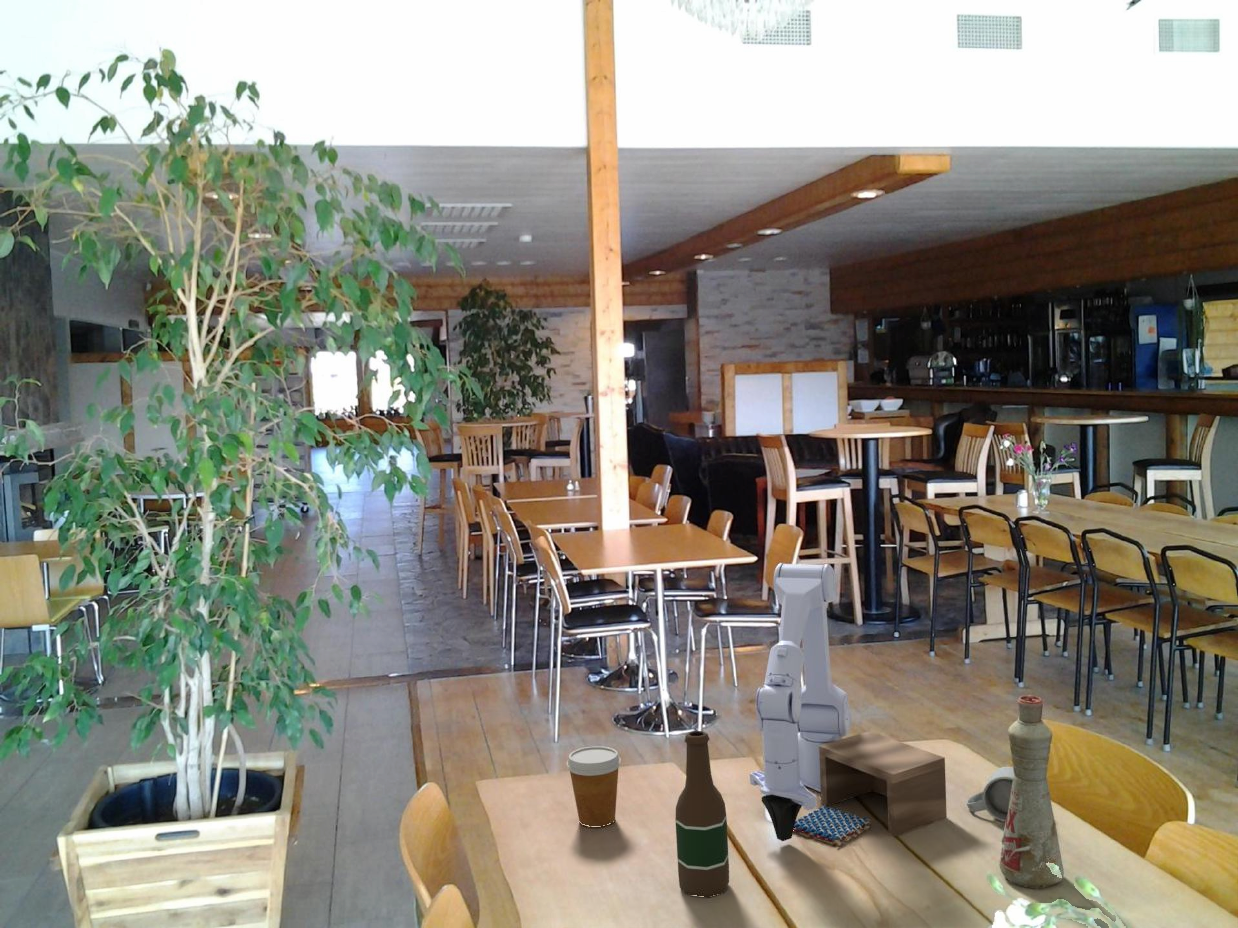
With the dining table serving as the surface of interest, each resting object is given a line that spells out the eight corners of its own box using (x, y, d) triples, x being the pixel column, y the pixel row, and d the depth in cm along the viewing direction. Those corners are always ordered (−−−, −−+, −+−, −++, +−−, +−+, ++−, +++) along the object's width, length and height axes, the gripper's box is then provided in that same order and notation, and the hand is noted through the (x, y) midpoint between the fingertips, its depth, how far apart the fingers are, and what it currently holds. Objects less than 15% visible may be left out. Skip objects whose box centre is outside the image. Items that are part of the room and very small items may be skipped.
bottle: (1057, 896, 166) (1053, 707, 163) (993, 883, 171) (988, 699, 168) (1069, 871, 173) (1066, 690, 171) (1007, 860, 178) (1003, 683, 176)
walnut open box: (821, 803, 204) (819, 745, 203) (871, 786, 211) (869, 731, 210) (895, 836, 189) (893, 774, 188) (946, 817, 195) (944, 757, 194)
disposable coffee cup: (561, 828, 200) (557, 761, 199) (583, 807, 209) (579, 743, 207) (612, 834, 196) (608, 766, 195) (632, 812, 205) (628, 747, 204)
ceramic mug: (1033, 805, 198) (1031, 762, 198) (1031, 824, 191) (1029, 779, 190) (969, 800, 202) (967, 758, 202) (964, 819, 195) (962, 774, 194)
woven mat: (874, 829, 194) (874, 817, 193) (838, 850, 186) (837, 838, 186) (823, 813, 201) (823, 802, 201) (786, 833, 194) (785, 822, 194)
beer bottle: (675, 877, 179) (667, 727, 176) (725, 873, 179) (717, 723, 177) (682, 901, 171) (674, 744, 169) (734, 896, 172) (726, 739, 169)
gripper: (734, 751, 191) (737, 830, 192) (791, 776, 179) (794, 860, 180) (767, 742, 195) (770, 819, 196) (825, 765, 183) (828, 847, 184)
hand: (784, 838), depth 188 cm, fingers closed
